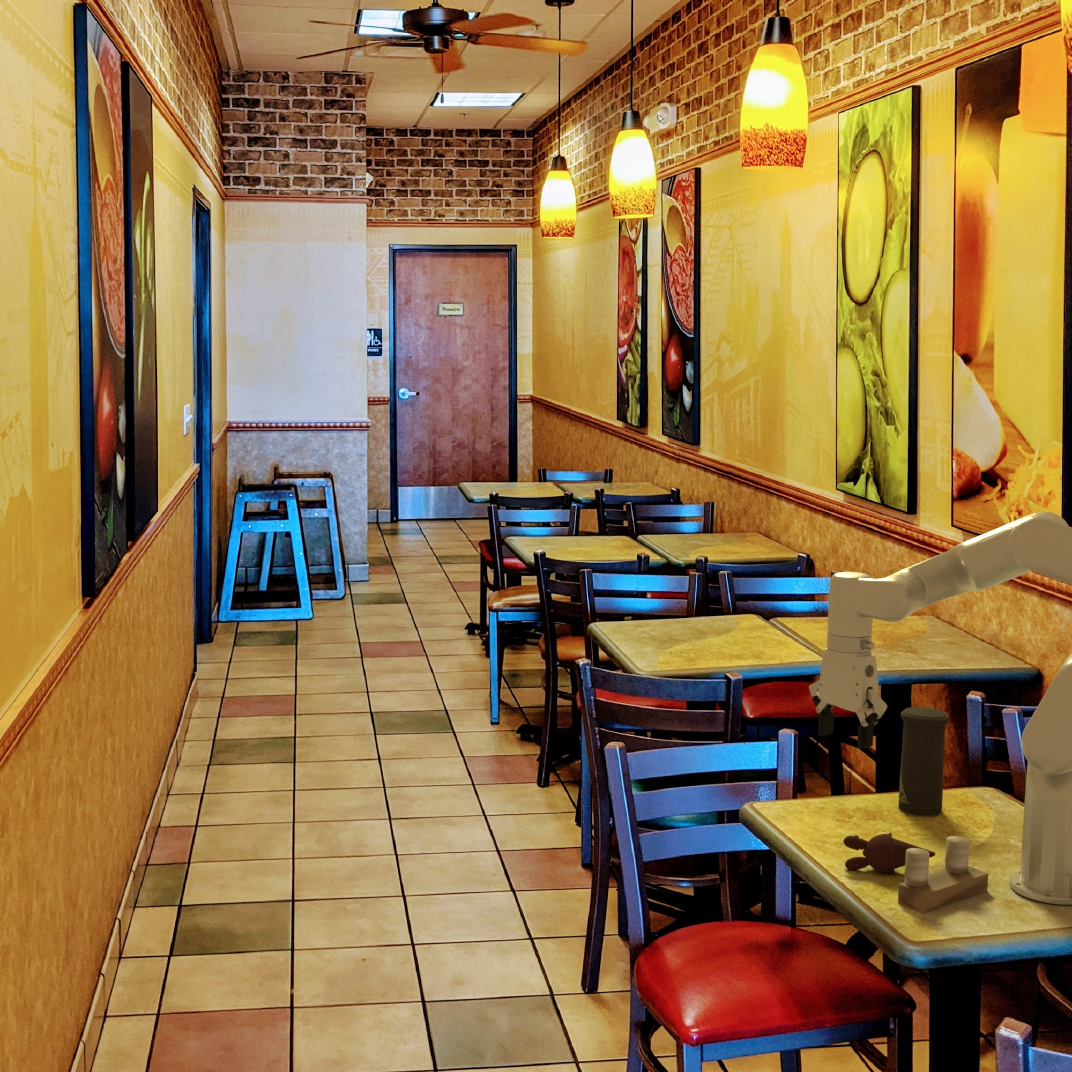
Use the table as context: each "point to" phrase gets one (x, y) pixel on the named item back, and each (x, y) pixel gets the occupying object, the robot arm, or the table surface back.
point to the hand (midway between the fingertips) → (844, 740)
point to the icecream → (879, 853)
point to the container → (922, 761)
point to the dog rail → (940, 878)
